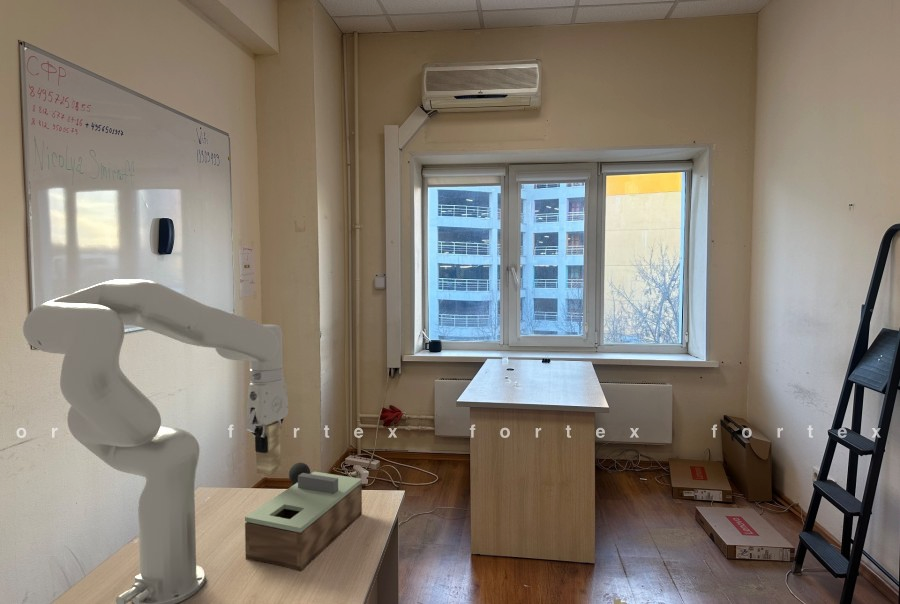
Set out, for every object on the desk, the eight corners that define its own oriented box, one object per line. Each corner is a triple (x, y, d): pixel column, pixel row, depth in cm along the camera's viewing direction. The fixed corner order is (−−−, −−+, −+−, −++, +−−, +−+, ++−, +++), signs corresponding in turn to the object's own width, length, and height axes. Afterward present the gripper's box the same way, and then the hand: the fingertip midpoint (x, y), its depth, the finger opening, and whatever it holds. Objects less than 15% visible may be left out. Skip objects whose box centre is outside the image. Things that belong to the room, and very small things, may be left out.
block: (270, 475, 121) (269, 426, 120) (256, 472, 122) (255, 424, 121) (280, 468, 125) (279, 421, 124) (267, 466, 126) (266, 420, 125)
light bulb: (298, 505, 132) (298, 468, 132) (284, 500, 135) (284, 464, 135) (314, 497, 137) (314, 462, 136) (300, 492, 140) (300, 458, 139)
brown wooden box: (301, 571, 103) (300, 534, 103) (245, 558, 108) (245, 522, 107) (361, 514, 128) (361, 483, 127) (314, 505, 132) (314, 476, 132)
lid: (300, 532, 103) (300, 513, 103) (244, 521, 107) (244, 503, 107) (361, 482, 127) (361, 467, 127) (314, 475, 132) (314, 460, 132)
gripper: (255, 384, 113) (257, 463, 114) (300, 369, 128) (301, 439, 130) (228, 381, 115) (230, 459, 116) (275, 367, 131) (277, 436, 132)
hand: (268, 448), depth 123 cm, fingers closed on block, 4 cm apart
